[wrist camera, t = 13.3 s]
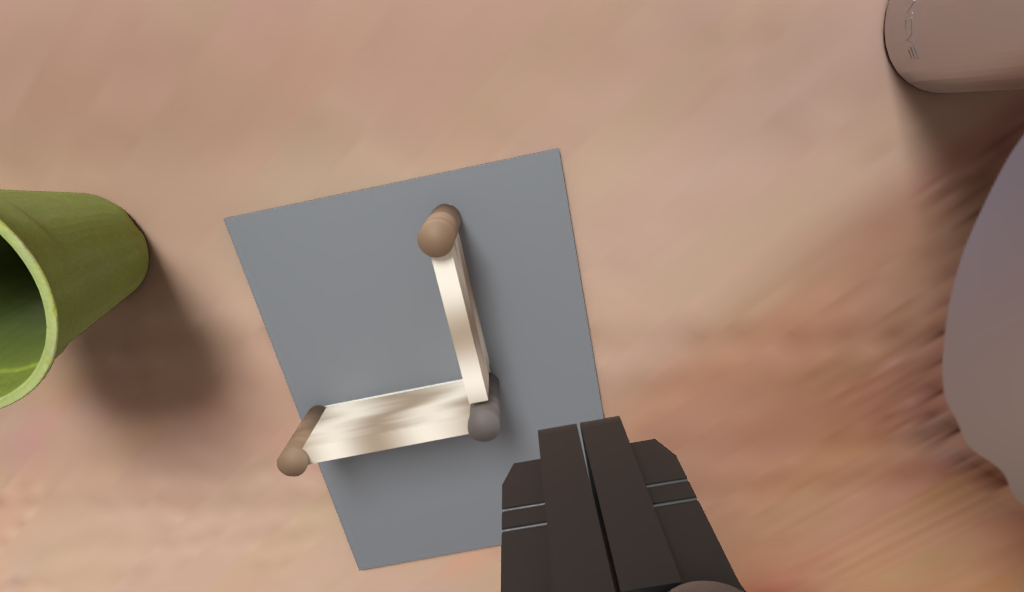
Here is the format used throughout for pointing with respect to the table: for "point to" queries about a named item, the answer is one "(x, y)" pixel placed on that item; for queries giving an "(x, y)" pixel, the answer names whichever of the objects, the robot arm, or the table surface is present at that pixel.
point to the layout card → (427, 338)
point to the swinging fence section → (390, 424)
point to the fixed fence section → (457, 297)
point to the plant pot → (58, 277)
